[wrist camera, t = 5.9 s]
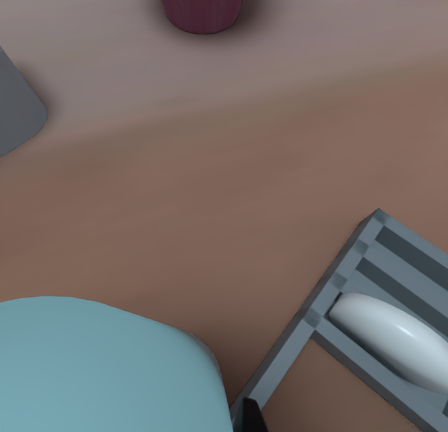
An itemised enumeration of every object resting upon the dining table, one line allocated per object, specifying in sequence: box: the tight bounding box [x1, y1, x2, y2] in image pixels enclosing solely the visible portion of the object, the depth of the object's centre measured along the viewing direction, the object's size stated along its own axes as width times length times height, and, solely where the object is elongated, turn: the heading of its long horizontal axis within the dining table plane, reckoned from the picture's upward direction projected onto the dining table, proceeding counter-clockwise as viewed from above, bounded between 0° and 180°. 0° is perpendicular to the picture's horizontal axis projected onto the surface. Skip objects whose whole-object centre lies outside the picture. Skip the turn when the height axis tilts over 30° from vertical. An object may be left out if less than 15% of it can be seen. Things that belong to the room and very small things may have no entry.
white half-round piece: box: [329, 293, 448, 394], centre depth 18 cm, size 1×7×7 cm, turn 50°
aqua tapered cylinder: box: [0, 296, 233, 432], centre depth 9 cm, size 6×6×12 cm
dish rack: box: [229, 208, 448, 432], centre depth 19 cm, size 21×12×3 cm, turn 140°
